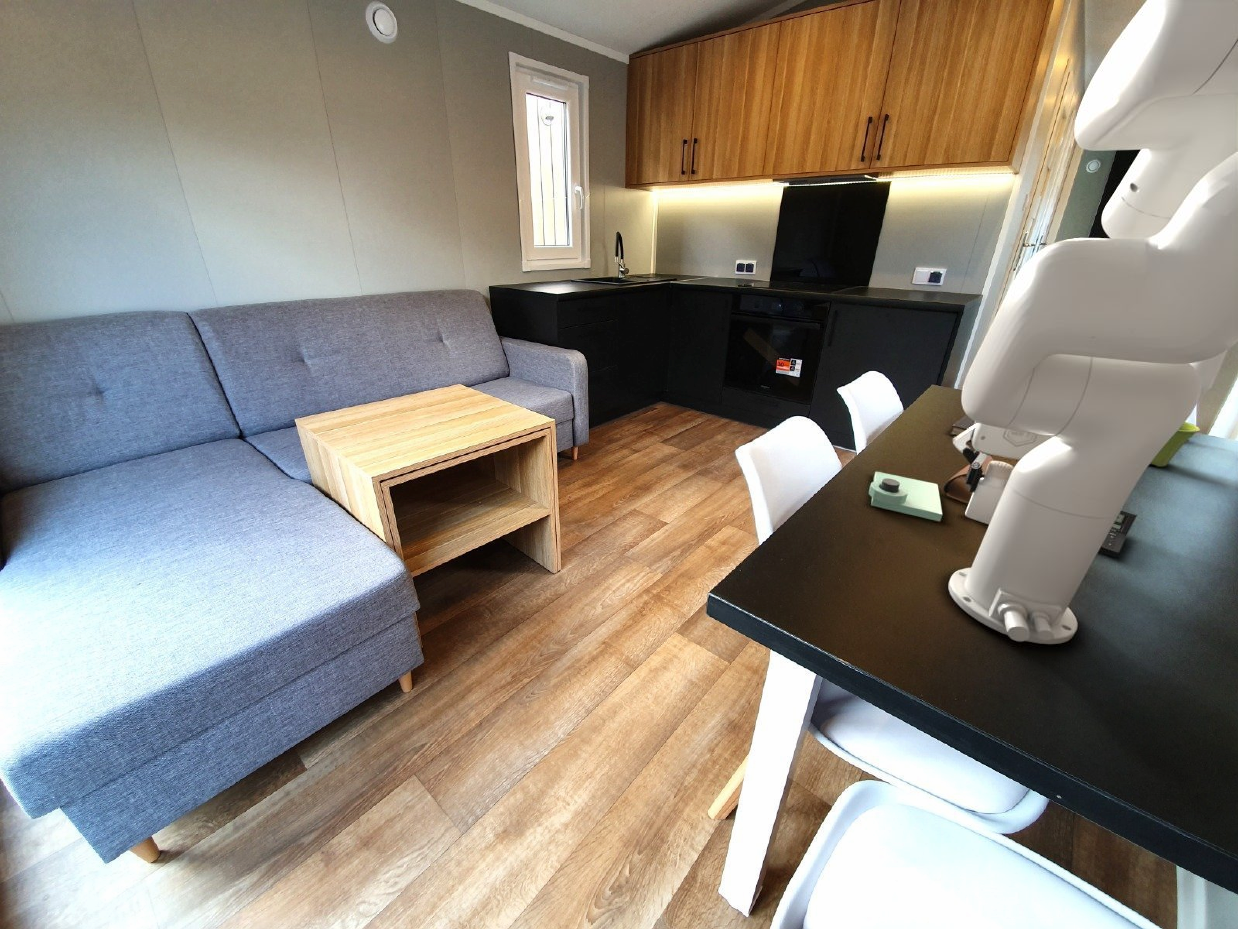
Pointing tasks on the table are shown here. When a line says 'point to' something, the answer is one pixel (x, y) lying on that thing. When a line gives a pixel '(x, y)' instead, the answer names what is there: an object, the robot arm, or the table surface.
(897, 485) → the tare button
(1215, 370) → the champagne flute
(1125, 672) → the table surface
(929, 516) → the scale
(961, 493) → the sunglasses case
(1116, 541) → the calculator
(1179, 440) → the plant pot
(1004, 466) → the pepper shaker
